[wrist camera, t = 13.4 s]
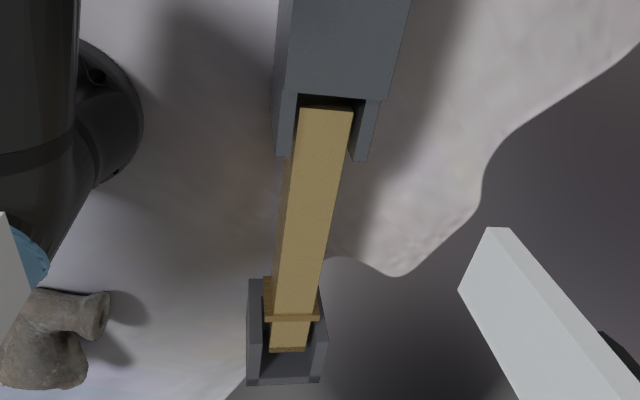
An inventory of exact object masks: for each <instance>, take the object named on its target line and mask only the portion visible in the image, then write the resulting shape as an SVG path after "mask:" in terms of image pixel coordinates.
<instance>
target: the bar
mask: <svg viewBox="0 0 640 400" xmlns="http://www.w3.org/2000/svg"><path fill="white" fill-rule="evenodd" d="M353 113H354V112H353V110H352V108H351V107H350V105H349V103H348V101H347V99H346V98H345V97H337V96H327V95H316V94H306V93H298V95H297V103H296V111H295V119H294V127H293V136H292V144H291V152H290V157H285V160H284V169H283V177H282V186H281V195H280V203H279V212H278V221H277V229H276V238H275V247H274V256H273V264H272V273H271V276H263V298H264V321H265V322H267V330H268V351H269V353H276V352H304V351H305V346H306V341H307V336H308V332H309V327H310V322H311V321H319V319H320V311H319V306H318V300H317V295H316V293H317V288H318V283H319V278H320V273H321V268H322V264H323V259H324V254H325V249H326V244H327V239H328V234H329V230H330V225H331V220H332V215H333V210H334V205H335V200H336V196H337V191H338V186H339V181H340V176H341V171H342V166H343V162H344V157H345V152H346V147H347V142H348V137H349V132H350V128H351V123H352V118H353Z"/></svg>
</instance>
